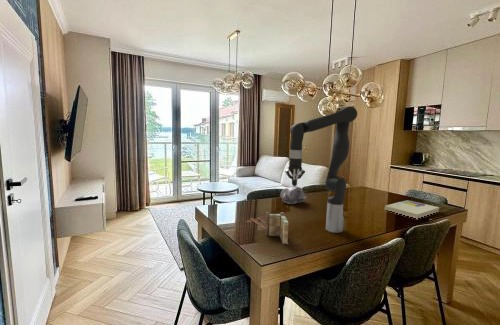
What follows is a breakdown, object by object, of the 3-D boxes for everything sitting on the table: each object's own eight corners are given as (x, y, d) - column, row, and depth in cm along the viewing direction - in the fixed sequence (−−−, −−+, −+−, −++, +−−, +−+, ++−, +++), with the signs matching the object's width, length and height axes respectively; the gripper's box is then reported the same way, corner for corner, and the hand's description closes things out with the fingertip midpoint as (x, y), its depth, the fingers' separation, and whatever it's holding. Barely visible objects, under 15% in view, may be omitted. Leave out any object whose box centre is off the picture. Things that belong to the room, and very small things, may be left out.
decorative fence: (263, 218, 171) (244, 221, 164) (264, 216, 170) (244, 219, 163) (283, 230, 150) (261, 234, 143) (283, 228, 150) (262, 232, 143)
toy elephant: (297, 200, 221) (295, 184, 222) (310, 201, 206) (308, 184, 207) (279, 205, 211) (277, 187, 212) (292, 206, 196) (290, 187, 197)
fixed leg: (283, 233, 143) (284, 212, 141) (283, 235, 140) (284, 213, 139) (265, 233, 142) (265, 212, 140) (265, 235, 140) (266, 213, 138)
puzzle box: (383, 211, 195) (417, 220, 174) (384, 205, 194) (417, 214, 174) (407, 205, 214) (439, 212, 193) (407, 200, 213) (440, 207, 193)
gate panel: (280, 235, 140) (280, 215, 138) (283, 235, 140) (284, 215, 139) (283, 243, 129) (284, 222, 128) (287, 243, 130) (288, 222, 128)
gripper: (287, 158, 143) (286, 187, 145) (308, 158, 146) (307, 186, 148) (283, 156, 150) (281, 184, 152) (303, 156, 153) (301, 184, 155)
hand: (294, 185), depth 150 cm, fingers closed
